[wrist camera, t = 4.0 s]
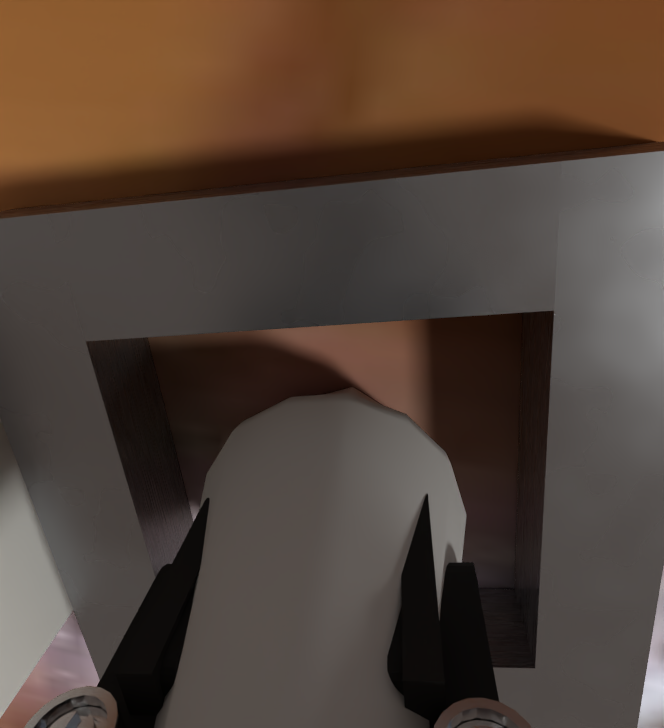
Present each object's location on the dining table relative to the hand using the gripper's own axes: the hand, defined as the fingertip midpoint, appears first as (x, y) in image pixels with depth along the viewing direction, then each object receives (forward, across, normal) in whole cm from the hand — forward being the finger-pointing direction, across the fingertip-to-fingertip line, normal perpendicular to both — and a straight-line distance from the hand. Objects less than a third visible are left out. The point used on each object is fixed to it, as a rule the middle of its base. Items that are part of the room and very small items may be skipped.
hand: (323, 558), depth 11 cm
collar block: (+4, 0, 0) cm, 4 cm away
